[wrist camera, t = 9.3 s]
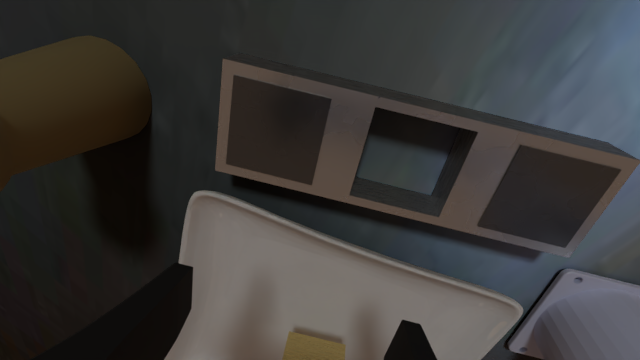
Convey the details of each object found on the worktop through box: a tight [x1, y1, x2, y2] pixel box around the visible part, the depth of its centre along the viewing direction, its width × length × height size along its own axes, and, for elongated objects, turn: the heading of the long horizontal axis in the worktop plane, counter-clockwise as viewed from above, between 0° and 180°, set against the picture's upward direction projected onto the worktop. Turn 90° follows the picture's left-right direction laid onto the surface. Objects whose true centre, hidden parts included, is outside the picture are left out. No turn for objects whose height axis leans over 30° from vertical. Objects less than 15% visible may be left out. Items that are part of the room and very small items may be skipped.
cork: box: [0, 35, 152, 192], centre depth 15 cm, size 6×6×11 cm
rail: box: [215, 53, 640, 258], centre depth 18 cm, size 20×6×2 cm, turn 78°
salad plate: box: [164, 190, 523, 360], centre depth 26 cm, size 21×21×3 cm
